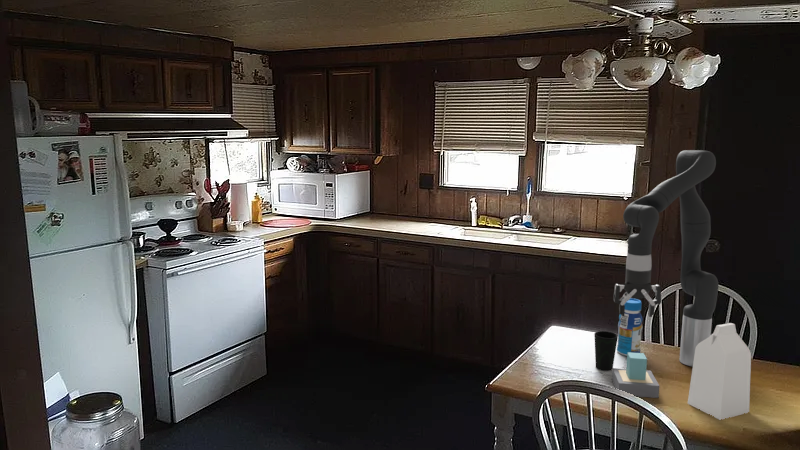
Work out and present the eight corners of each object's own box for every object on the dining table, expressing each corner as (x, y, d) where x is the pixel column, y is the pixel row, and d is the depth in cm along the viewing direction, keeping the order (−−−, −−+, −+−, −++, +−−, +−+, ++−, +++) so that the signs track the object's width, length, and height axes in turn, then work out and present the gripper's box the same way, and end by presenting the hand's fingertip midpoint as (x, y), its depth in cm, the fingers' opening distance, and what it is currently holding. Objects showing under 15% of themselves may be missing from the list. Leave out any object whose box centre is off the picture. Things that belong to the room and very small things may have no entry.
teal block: (642, 373, 203) (643, 353, 202) (645, 380, 199) (647, 359, 197) (626, 372, 204) (627, 352, 203) (628, 379, 199) (630, 358, 198)
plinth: (649, 382, 207) (650, 370, 206) (658, 398, 195) (659, 385, 195) (611, 379, 209) (612, 367, 208) (618, 395, 197) (619, 382, 197)
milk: (719, 420, 181) (728, 333, 177) (687, 403, 192) (694, 321, 187) (749, 412, 186) (757, 328, 182) (715, 396, 197) (723, 316, 192)
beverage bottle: (614, 348, 237) (617, 296, 234) (637, 349, 236) (641, 297, 233) (618, 356, 229) (622, 303, 226) (643, 357, 228) (646, 304, 225)
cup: (617, 372, 214) (619, 339, 212) (593, 371, 216) (595, 337, 214) (614, 364, 222) (616, 331, 220) (591, 362, 223) (593, 330, 221)
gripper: (658, 264, 203) (656, 312, 206) (613, 264, 205) (611, 311, 208) (665, 270, 196) (662, 320, 199) (617, 269, 198) (615, 319, 201)
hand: (636, 315), depth 203 cm, fingers open, 8 cm apart
